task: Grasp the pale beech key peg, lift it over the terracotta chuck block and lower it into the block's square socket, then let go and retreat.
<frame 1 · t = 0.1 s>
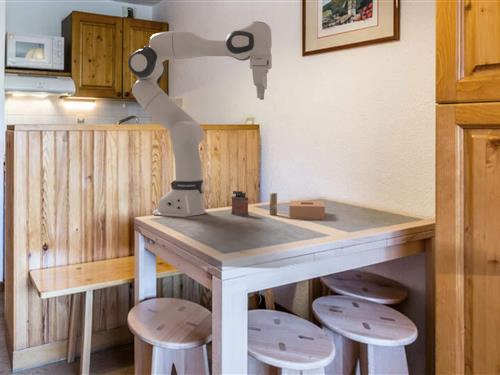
hand: (260, 98, 181), 48 cm above the table, fingers open, 8 cm apart
key peg: (273, 214, 187), on the table
chuck block: (306, 215, 185), on the table
lighter: (239, 214, 187), on the table
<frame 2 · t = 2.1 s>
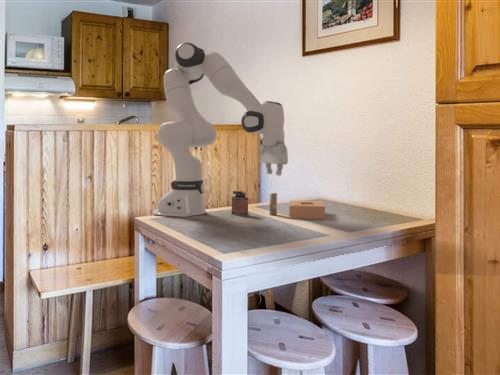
hand: (274, 174, 184), 17 cm above the table, fingers open, 8 cm apart
nothing on the table moved.
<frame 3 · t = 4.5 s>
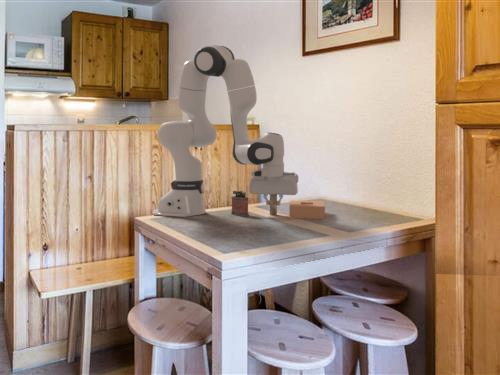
hand: (273, 205, 186), 4 cm above the table, fingers closed on key peg, 3 cm apart
key peg: (273, 214, 187), on the table, touching gripper
everything else where it was.
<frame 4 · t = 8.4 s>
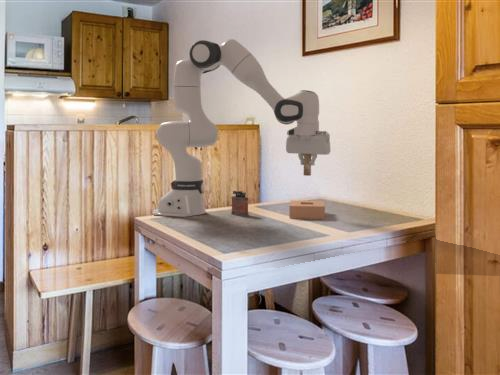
hand: (307, 165, 182), 21 cm above the table, fingers closed on key peg, 3 cm apart
key peg: (307, 175, 183), point 17 cm above the table, touching gripper
everything else where it was.
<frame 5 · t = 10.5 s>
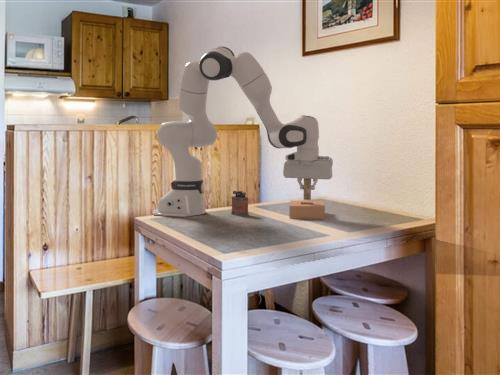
hand: (307, 189, 183), 11 cm above the table, fingers closed on key peg, 3 cm apart
key peg: (307, 199, 184), point 7 cm above the table, touching gripper
everything else where it was.
when the fingers open (6 cm above the table, at t = 12.4 s): key peg drops 2 cm, resting in chuck block.
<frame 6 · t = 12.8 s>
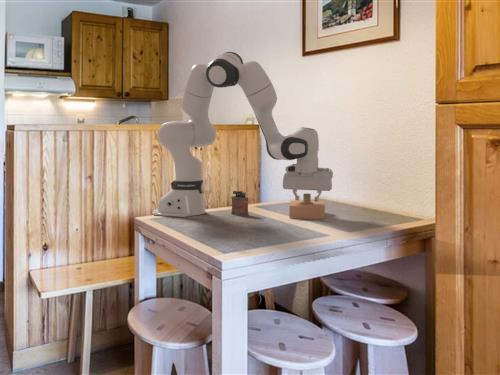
hand: (306, 200, 184), 6 cm above the table, fingers open, 7 cm apart
key peg: (306, 215, 185), resting in chuck block
everything else where it was.
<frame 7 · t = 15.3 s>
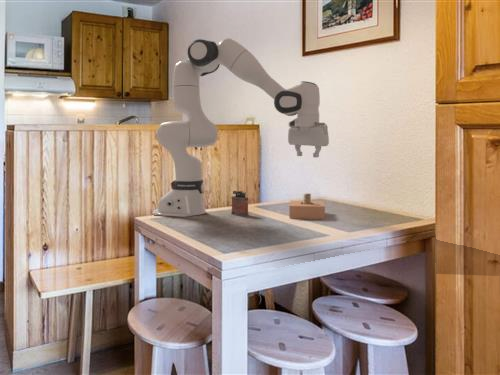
hand: (307, 156, 182), 24 cm above the table, fingers open, 8 cm apart
nothing on the table moved.
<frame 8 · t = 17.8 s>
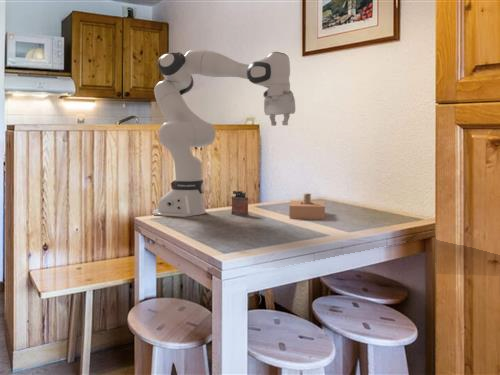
hand: (279, 125, 188), 37 cm above the table, fingers open, 8 cm apart
nothing on the table moved.
at the end: key peg 0.1 cm off-centre on the chuck block, point 0.0 cm above the chuck block's base; key peg tilted 0°; the gripper is holding nothing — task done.
